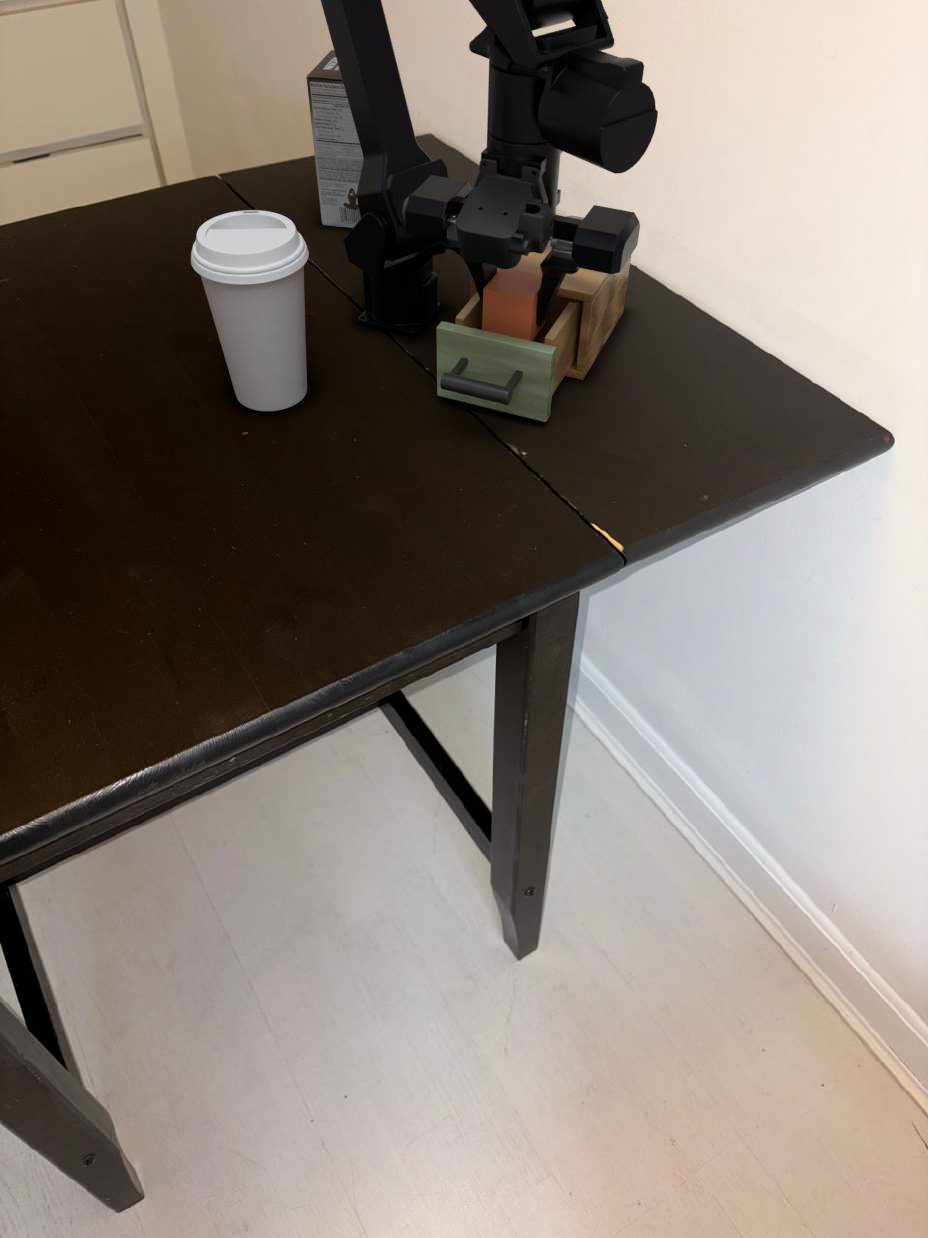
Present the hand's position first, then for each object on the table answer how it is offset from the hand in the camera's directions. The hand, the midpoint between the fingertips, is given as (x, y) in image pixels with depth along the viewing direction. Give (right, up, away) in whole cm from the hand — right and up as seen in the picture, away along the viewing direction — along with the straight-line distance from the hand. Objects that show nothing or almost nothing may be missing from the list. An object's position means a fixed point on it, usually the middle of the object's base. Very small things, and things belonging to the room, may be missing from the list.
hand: (514, 318), depth 83 cm
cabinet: (+4, +2, +12) cm, 13 cm away
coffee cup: (-22, -6, +4) cm, 23 cm away
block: (0, -1, +1) cm, 1 cm away
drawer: (0, -5, +4) cm, 6 cm away
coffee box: (-17, +22, +30) cm, 41 cm away
